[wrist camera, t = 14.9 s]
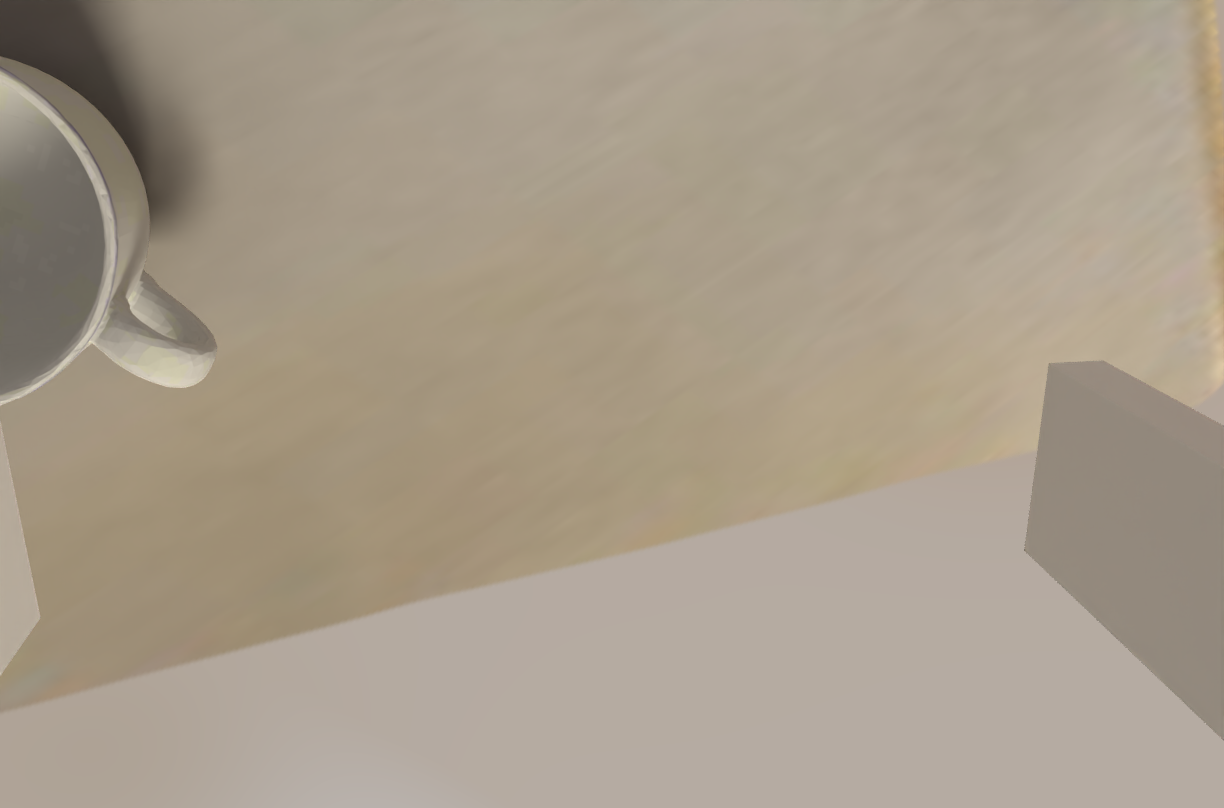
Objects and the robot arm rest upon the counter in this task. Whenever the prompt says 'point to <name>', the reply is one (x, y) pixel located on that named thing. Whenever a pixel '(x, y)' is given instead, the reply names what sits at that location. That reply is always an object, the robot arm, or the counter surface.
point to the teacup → (79, 247)
